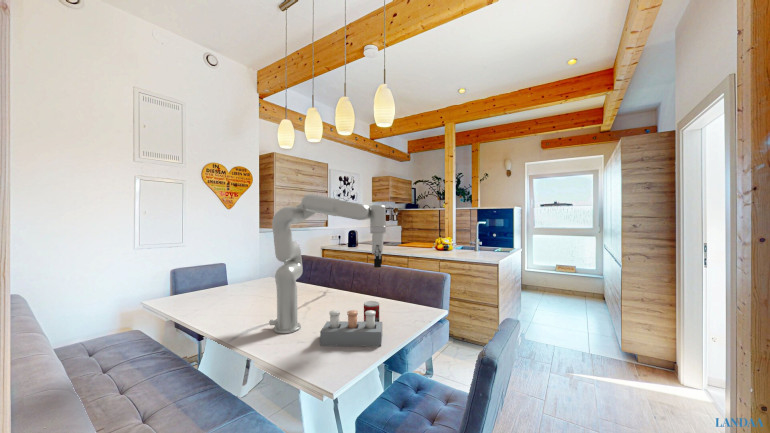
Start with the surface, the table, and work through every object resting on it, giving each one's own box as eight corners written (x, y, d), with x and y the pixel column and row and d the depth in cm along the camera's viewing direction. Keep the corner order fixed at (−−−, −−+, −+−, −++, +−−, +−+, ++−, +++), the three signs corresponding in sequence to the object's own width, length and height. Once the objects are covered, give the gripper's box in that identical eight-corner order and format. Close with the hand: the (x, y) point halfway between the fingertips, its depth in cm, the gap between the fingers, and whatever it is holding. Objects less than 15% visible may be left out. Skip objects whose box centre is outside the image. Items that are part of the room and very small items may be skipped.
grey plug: (364, 332, 127) (364, 313, 127) (365, 327, 132) (365, 310, 132) (375, 332, 127) (375, 313, 127) (376, 328, 132) (375, 310, 132)
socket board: (320, 345, 124) (320, 331, 124) (326, 334, 136) (326, 321, 136) (381, 346, 123) (381, 332, 123) (382, 334, 135) (382, 321, 135)
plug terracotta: (346, 331, 128) (346, 313, 128) (348, 327, 132) (348, 310, 132) (357, 331, 128) (356, 313, 127) (358, 327, 132) (358, 310, 132)
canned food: (377, 328, 143) (377, 306, 143) (361, 327, 145) (361, 305, 145) (380, 322, 151) (380, 301, 151) (366, 321, 152) (365, 300, 152)
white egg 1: (328, 331, 128) (328, 313, 128) (330, 327, 133) (330, 310, 133) (338, 331, 128) (338, 313, 128) (340, 327, 132) (340, 310, 132)
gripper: (371, 229, 150) (371, 262, 150) (368, 231, 133) (368, 268, 133) (386, 229, 150) (386, 262, 150) (385, 231, 132) (385, 268, 133)
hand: (378, 265), depth 141 cm, fingers open, 9 cm apart
